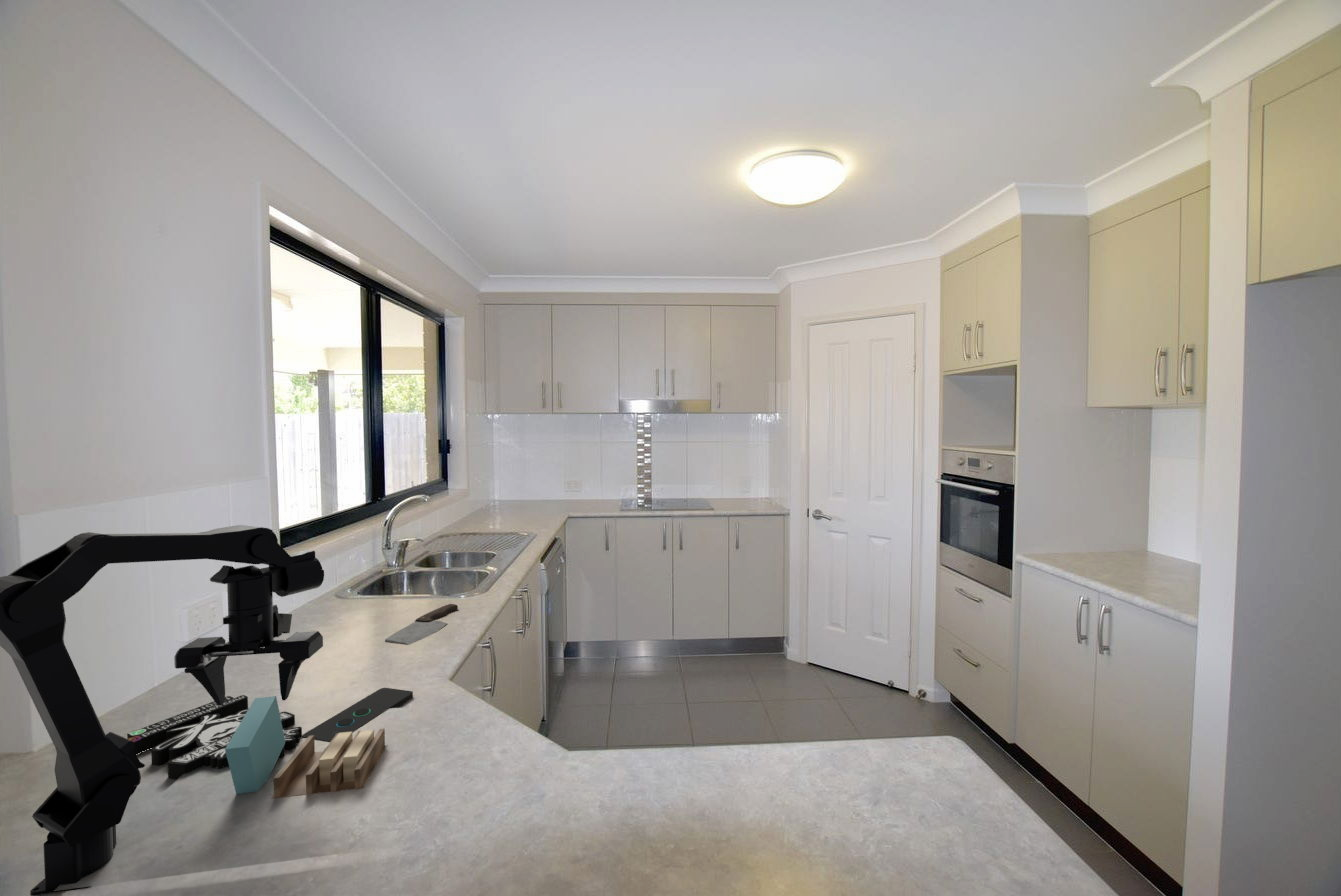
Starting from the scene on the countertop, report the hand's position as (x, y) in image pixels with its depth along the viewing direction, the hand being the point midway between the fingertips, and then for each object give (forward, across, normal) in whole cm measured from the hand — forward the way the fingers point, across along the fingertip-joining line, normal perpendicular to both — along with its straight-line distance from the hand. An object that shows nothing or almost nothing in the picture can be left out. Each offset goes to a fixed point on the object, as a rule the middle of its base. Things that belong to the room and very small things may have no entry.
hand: (253, 701), depth 90 cm
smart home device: (+14, -9, -19) cm, 25 cm away
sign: (+14, +11, -12) cm, 22 cm away
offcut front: (+12, -16, 0) cm, 20 cm away
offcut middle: (+12, -12, 0) cm, 17 cm away
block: (+11, -1, -1) cm, 11 cm away
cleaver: (+14, -9, -72) cm, 74 cm away
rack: (+13, -12, 0) cm, 17 cm away
